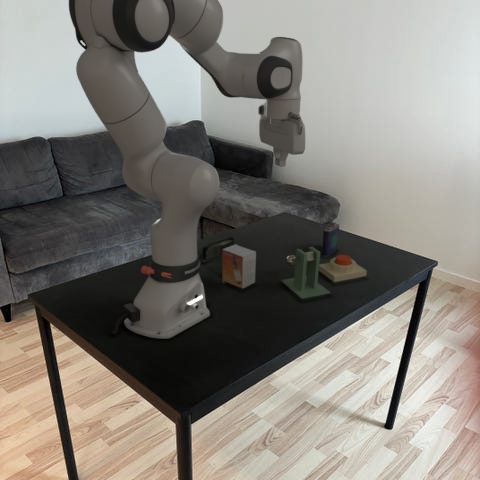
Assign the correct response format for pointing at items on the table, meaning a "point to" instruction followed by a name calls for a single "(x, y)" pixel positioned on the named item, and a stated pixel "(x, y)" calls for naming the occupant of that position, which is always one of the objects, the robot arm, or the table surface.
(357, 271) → the button housing
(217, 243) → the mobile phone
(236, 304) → the table surface
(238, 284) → the small box
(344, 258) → the button
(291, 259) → the lever
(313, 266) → the switch bracket
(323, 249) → the flask
